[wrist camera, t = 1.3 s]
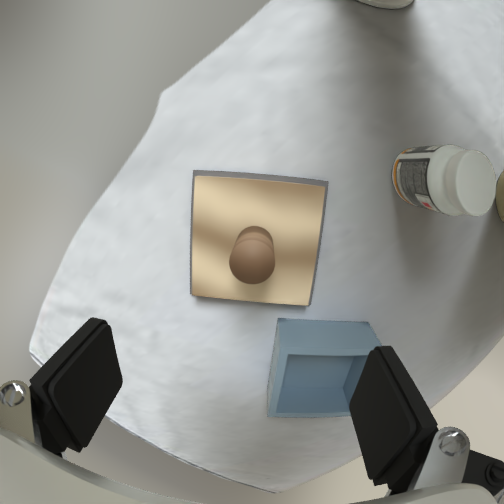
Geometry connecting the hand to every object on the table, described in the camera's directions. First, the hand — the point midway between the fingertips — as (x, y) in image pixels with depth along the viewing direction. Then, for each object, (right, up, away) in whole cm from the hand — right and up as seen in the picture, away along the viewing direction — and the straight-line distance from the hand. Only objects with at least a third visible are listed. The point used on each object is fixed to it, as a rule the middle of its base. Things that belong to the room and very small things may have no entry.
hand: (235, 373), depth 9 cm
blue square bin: (+8, -8, +20) cm, 23 cm away
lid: (+1, +5, +16) cm, 17 cm away
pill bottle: (+16, +12, +14) cm, 25 cm away
